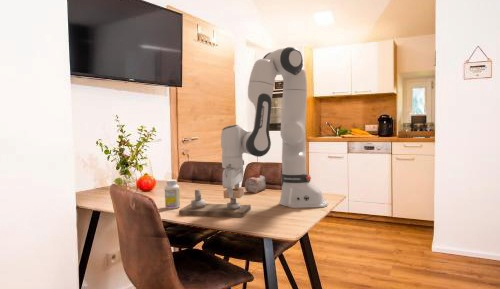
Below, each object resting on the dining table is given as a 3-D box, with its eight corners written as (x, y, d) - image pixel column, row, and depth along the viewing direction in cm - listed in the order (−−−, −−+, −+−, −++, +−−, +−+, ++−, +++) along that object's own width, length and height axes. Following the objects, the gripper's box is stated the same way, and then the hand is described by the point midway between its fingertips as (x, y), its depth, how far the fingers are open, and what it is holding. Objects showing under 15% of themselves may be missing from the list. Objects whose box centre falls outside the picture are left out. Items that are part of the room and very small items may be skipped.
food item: (257, 194, 195) (256, 176, 195) (244, 193, 199) (243, 175, 198) (267, 189, 207) (266, 172, 207) (254, 189, 211) (254, 172, 210)
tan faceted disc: (243, 195, 157) (243, 188, 156) (239, 198, 150) (239, 191, 150) (228, 195, 158) (228, 188, 158) (223, 198, 151) (223, 191, 151)
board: (250, 209, 160) (250, 188, 159) (243, 217, 146) (242, 194, 145) (191, 207, 166) (191, 187, 165) (179, 215, 152) (178, 192, 152)
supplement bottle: (173, 205, 172) (172, 178, 171) (182, 207, 167) (182, 179, 167) (162, 208, 166) (161, 180, 166) (171, 209, 162) (170, 181, 161)
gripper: (232, 165, 142) (234, 200, 143) (245, 160, 162) (246, 190, 163) (217, 166, 144) (219, 200, 145) (231, 160, 164) (233, 190, 165)
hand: (234, 195), depth 154 cm, fingers closed on tan faceted disc, 7 cm apart
